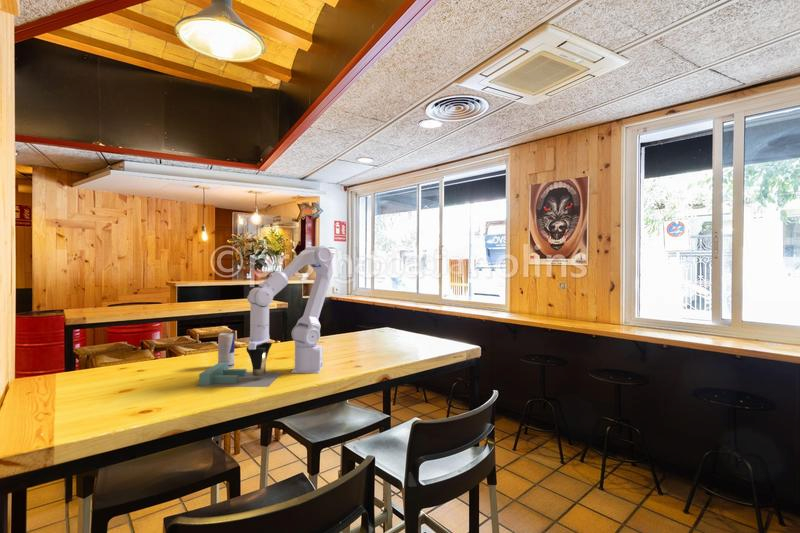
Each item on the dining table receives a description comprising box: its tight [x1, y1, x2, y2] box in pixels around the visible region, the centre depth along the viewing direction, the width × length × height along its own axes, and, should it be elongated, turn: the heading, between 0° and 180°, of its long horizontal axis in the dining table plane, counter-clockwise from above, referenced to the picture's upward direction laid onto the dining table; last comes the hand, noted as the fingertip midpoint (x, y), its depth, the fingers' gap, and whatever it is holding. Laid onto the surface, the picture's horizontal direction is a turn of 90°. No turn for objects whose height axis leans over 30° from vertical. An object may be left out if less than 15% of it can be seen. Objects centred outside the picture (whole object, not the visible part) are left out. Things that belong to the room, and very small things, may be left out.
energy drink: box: [217, 332, 236, 369], centre depth 139 cm, size 5×5×12 cm
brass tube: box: [252, 351, 267, 376], centre depth 124 cm, size 4×4×7 cm
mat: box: [194, 371, 283, 388], centre depth 124 cm, size 22×16×1 cm
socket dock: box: [198, 362, 248, 386], centre depth 124 cm, size 10×14×4 cm
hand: (259, 367), depth 124 cm, fingers closed on brass tube, 4 cm apart
